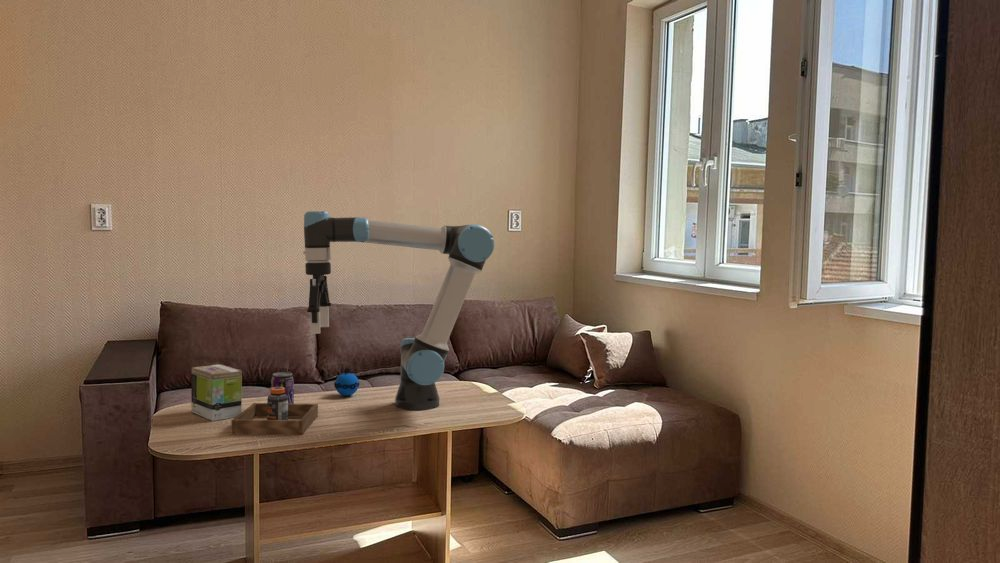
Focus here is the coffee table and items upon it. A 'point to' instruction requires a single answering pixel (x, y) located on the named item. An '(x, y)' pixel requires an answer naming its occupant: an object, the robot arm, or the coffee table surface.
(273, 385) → the beverage can
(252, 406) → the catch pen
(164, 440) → the coffee table surface
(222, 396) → the tea box
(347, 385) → the ornament
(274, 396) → the pill bottle
